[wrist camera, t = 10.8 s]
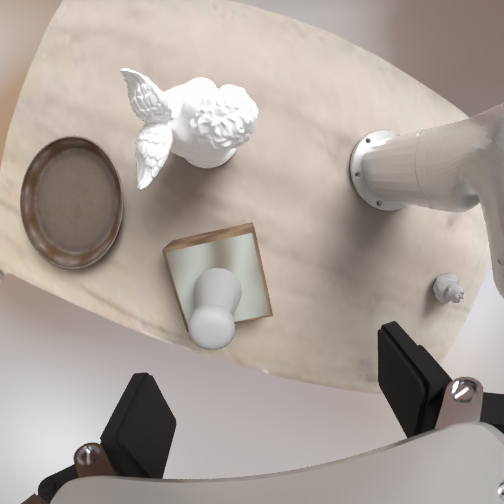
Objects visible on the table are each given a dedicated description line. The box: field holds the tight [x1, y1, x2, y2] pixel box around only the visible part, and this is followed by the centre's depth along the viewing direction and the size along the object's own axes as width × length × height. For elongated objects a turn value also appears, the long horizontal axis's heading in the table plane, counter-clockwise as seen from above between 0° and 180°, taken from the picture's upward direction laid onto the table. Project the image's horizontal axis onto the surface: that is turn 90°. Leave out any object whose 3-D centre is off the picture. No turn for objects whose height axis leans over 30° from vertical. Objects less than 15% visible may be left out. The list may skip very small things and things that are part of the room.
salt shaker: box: [188, 268, 242, 350], centre depth 31 cm, size 6×6×13 cm
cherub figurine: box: [120, 69, 258, 189], centre depth 29 cm, size 12×12×22 cm
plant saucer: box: [20, 136, 123, 269], centre depth 39 cm, size 21×21×3 cm
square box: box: [163, 223, 273, 332], centre depth 41 cm, size 12×12×6 cm
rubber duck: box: [433, 273, 464, 304], centre depth 42 cm, size 5×7×8 cm
